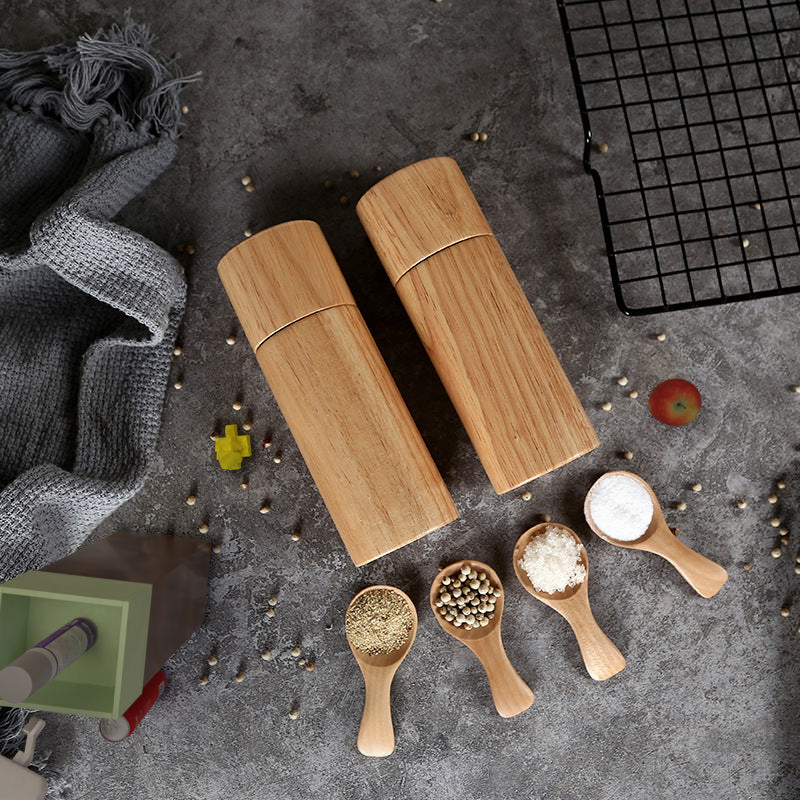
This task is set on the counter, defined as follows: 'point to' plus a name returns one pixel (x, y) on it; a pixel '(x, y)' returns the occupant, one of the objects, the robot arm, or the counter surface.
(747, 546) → the counter surface
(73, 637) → the container
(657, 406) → the apple
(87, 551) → the stand
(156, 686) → the beverage can
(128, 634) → the bin
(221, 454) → the yellow cross puzzle piece
